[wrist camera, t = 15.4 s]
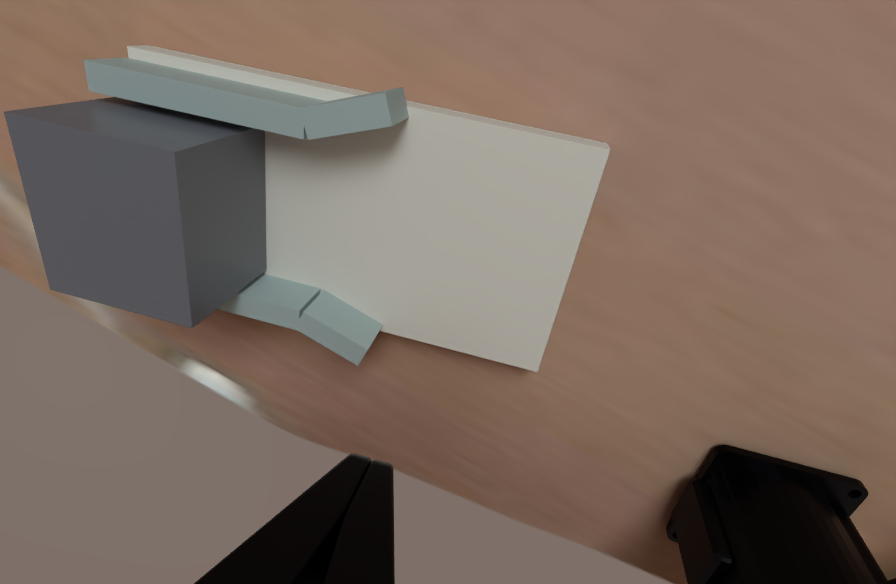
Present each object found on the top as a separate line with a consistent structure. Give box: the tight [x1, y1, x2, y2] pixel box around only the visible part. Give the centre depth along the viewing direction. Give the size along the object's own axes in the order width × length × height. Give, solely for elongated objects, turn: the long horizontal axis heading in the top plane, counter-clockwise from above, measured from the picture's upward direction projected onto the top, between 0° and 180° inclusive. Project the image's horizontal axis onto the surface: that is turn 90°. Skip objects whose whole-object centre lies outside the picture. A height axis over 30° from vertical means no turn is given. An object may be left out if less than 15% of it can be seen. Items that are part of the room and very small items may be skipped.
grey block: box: [4, 97, 267, 328], centre depth 18 cm, size 6×6×5 cm
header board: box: [84, 46, 610, 372], centre depth 19 cm, size 18×11×4 cm, turn 81°
